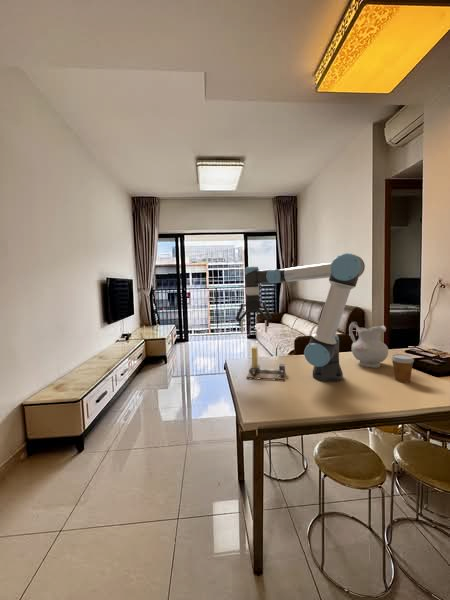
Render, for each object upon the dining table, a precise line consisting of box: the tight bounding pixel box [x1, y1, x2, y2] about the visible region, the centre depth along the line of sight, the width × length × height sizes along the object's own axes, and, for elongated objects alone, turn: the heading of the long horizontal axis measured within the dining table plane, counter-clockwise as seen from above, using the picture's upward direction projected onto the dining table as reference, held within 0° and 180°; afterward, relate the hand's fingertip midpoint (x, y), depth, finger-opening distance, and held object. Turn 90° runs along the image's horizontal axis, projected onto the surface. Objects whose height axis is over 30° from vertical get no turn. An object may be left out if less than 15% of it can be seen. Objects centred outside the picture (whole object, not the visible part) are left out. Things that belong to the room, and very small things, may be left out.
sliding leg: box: [249, 346, 261, 375], centre depth 149 cm, size 5×9×14 cm, turn 165°
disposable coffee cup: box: [390, 353, 415, 383], centre depth 132 cm, size 10×10×12 cm
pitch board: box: [246, 363, 286, 381], centre depth 147 cm, size 20×12×6 cm, turn 75°
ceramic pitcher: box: [348, 321, 389, 369], centre depth 158 cm, size 22×20×25 cm
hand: (254, 332), depth 150 cm, fingers open, 13 cm apart
